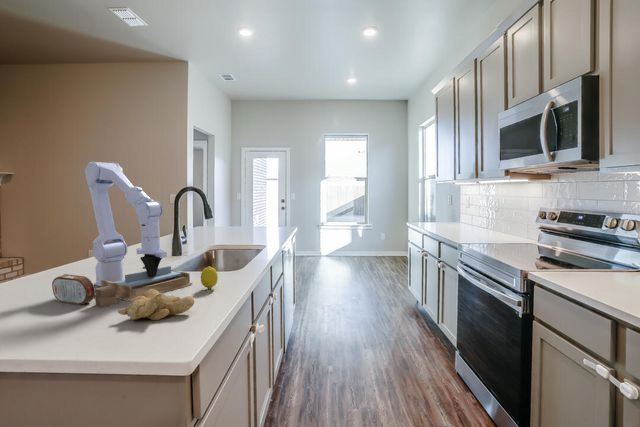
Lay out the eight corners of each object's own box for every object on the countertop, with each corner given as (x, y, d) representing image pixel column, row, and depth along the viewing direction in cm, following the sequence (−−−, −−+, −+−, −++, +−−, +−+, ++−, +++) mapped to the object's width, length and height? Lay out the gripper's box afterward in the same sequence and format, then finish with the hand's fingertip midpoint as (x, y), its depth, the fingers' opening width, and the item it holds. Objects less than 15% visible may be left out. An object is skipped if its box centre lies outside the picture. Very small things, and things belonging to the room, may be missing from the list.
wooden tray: (99, 292, 120) (99, 280, 120) (161, 278, 139) (161, 267, 139) (130, 301, 110) (129, 288, 110) (192, 284, 129) (191, 273, 129)
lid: (113, 284, 118) (113, 274, 118) (167, 272, 134) (167, 264, 134) (127, 287, 113) (127, 278, 113) (181, 274, 130) (181, 266, 129)
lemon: (213, 291, 119) (212, 268, 119) (197, 291, 121) (197, 267, 120) (220, 287, 125) (220, 264, 124) (206, 286, 126) (205, 264, 125)
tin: (96, 303, 109) (94, 276, 108) (86, 306, 106) (84, 278, 105) (61, 299, 114) (59, 272, 113) (50, 302, 111) (49, 275, 110)
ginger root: (109, 313, 96) (116, 283, 97) (166, 311, 108) (171, 285, 109) (134, 329, 86) (141, 296, 87) (193, 326, 98) (199, 296, 99)
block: (95, 305, 107) (94, 288, 107) (109, 301, 111) (108, 285, 110) (102, 307, 105) (101, 290, 105) (116, 303, 108) (115, 287, 108)
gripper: (127, 236, 122) (129, 276, 123) (151, 240, 114) (153, 282, 115) (146, 234, 128) (148, 272, 129) (171, 237, 120) (173, 277, 121)
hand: (152, 276), depth 123 cm, fingers closed
